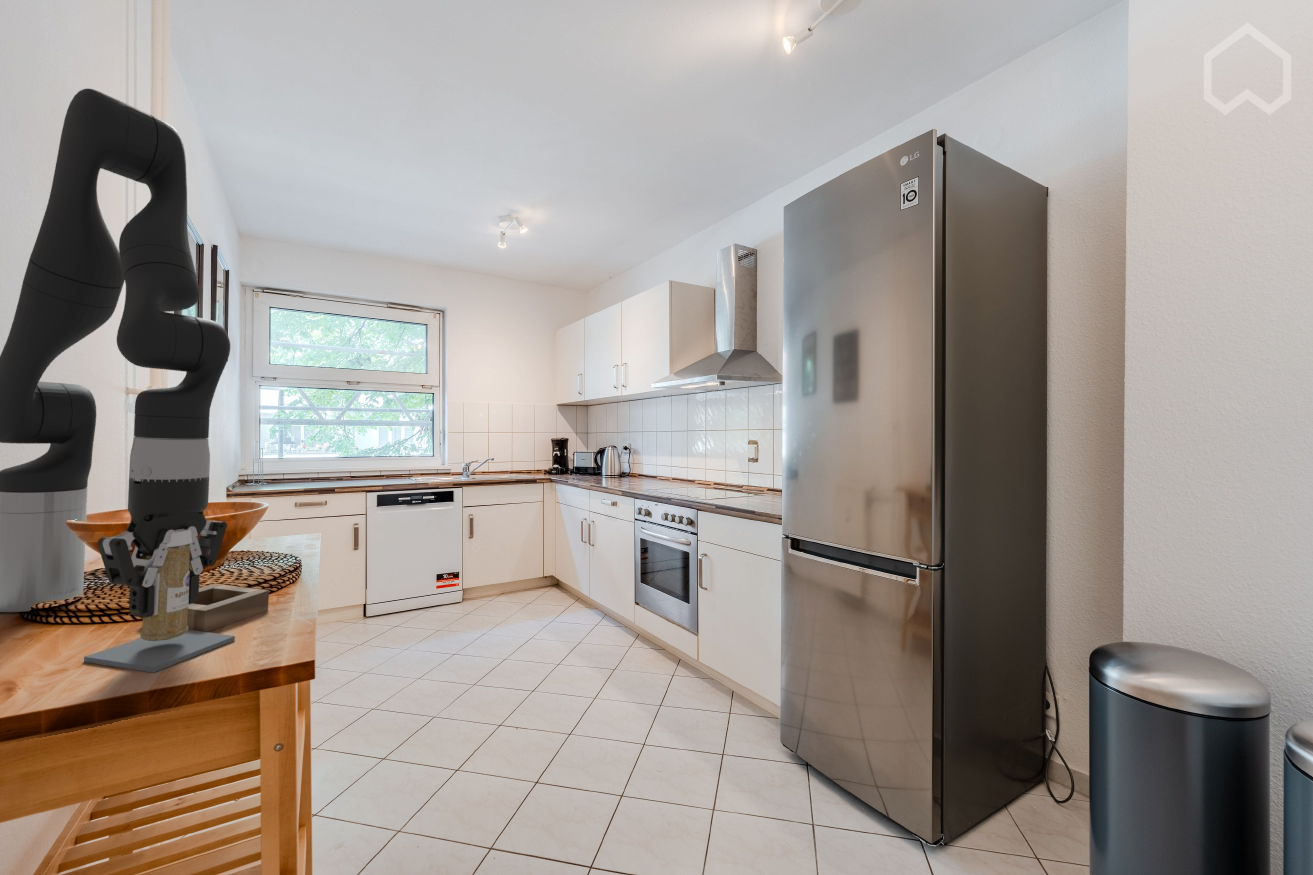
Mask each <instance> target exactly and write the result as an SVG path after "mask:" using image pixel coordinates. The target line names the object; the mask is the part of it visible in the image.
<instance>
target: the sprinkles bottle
mask: <svg viewBox="0 0 1313 875" xmlns="http://www.w3.org/2000/svg"><path fill="white" fill-rule="evenodd" d="M174 531H175V532H174V533H172V535H171V542H170V543H168V544H167V545H166V547H168V549H167V551H168V553H167V555H166V558H165V561H164V564H163V566H162V567H160V568H159V569H158V571H157V574H156V576H155V579H154V582H153V584H152V585H151V586H155V595H154V614H153V615H152V616H149V617H146V618H142V627H141V628H142V631H141V633H140V638H142V639H143V640H147V641H160V640H168V639H172V638H175V637H178V636H181V635H183V634H184V633H186V632H187V631H188V626H187V615H188V604H189V575H190V571H189V562H190V549H189V547H190V543H191V542H192V538H191V530H185V529H179V530H174ZM151 558H152V556H146V555H145V559H146V560H149V559H151Z"/></svg>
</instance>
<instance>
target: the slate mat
mask: <svg viewBox="0 0 1313 875" xmlns="http://www.w3.org/2000/svg"><path fill="white" fill-rule="evenodd" d="M235 640H236V636H235V635H229V634H224V633H223V634H222V633H215V632H210V631H207V632H202V631H195V630H188V631H187V632H186V633H184V634H183V635H181V636H178V637H175V638H172V639H168V640H160V641H147V640H143V639H142V638H141V637H140V638H137V639H134V640H129V641H127V642H125V643H122V644H117V645H115V646H111V647H109V648H107V649H103V650H101V651H100V650H99V651H97V652H94V653H90V654H88V655H84V657H83V662H84V663H89V664H90V663H91V664H97V665H102V666H103V665H104V666H109V667H116V668H123V669H128V670H134V671H140V672H148V673H154V674H155V672H158V671H162V670H164V669H166V668H169V667H172V666H173V665H176V664H179V663H182V662H184V661H186V660H189V659H192V658H194V657H196V656H199V655H201V654H204V653H207V652H209V651H212V650H214V649H218V648H219V647H222V646H224V645H227V644H229V643H231V642H234V641H235Z"/></svg>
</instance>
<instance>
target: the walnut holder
mask: <svg viewBox="0 0 1313 875" xmlns="http://www.w3.org/2000/svg"><path fill="white" fill-rule="evenodd" d="M269 593H270V590H269V589H268V590H267V589H260V588H251V587H243V586H235V585H228V584H227V585H226V584H219V583H217V584H216V583H213V584H210V585H205V586H202V587H199V594H198V596H197V598H196V601H195V602H194V603H192V604H189V605H188V615H187V626H188V630H195V631H202V632H210V631H213V630H215V629H218V628H221V627H223V626H227V625H229V624H232V623H234V622H238V621H240V620H243V619H245V618H249V617H251V616H255V615H257V614H261V613H263V612H266V611H268V610H269V598H270V594H269Z"/></svg>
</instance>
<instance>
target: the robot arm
mask: <svg viewBox="0 0 1313 875" xmlns="http://www.w3.org/2000/svg"><path fill="white" fill-rule="evenodd" d="M181 137H182V136H180V134H179V132H178V131H177V130H176V128H175V127H173V126H172V125H171V124H169V123H167V122H165V121H164V120H162V119H159V117H156V116H154V115H152V114H149V113H147V112H145V111H143V110H140V109H139V108H136V107H134V106H132V105H129V103H128V104H127V103H126V102H123V101H120V99H117V98H114V97H113V96H110V95H108V94H105V93H103V92H101V91H98V90H96V89H93V88H83V89H81V90H79V91H78V92H77V93H76V94H75V95H74V96H73V98H72V99H71V101H70V103H69V105H68V108H67V110H66V114H65V117H64V121H63V125H62V130H61V135H60V139H59V144H58V151H57V156H56V163H55V169H54V174H53V176H52V177H53V178H52V179H53V180H52V184H51V188H50V192H49V197H48V202H47V205H46V209H45V212H44V215H43V218H42V220H41V224H40V227H39V230H38V234H37V237H36V240H35V243H34V245H33V248H32V251H31V252H30V255H29V258H28V263H27V266H26V269H25V273H24V277H23V279H22V284H21V289H20V293H19V298H18V300H17V301H18V302H17V305H16V309H15V312H14V317H13V321H12V323H11V327H10V330H9V333H8V336H7V339H6V341H5V344H4V345H3V349H2V351H1V353H0V444H1V443H2V444H23V445H25V444H27V445H28V444H35V445H36V444H40V445H41V444H43V445H44V444H50V446H49V448H48V450H47V451H46V452H45V453H44V454H42V455H41V456H39V457H37V458H35V459H33V460H30V461H28V462H25V463H22V464H18V465H14V466H10V467H8V468H4V469H2V470H0V613H19V612H30V609H31V607H32V606H34V605H35V604H38V603H43V602H50V601H59V600H65V599H69V598H74V597H77V596H79V595H81V594H83V595H84V579H85V577H84V576H85V564H86V563H85V562H86V560H85V558H86V543H85V544H84V543H83V542H82V541H81V540H80V539H79V538H78V537H77V536H76V535H75V534H74V533H73V531H71V530H70V529H69V527H68V526H67V525H66V521H67V520H75V519H77V520H75V521H84V522H86V523H87V514H88V513H87V511H88V510H87V508H88V481H89V475H90V472H91V469H92V463H93V448H94V441H95V433H96V424H97V404H96V399H95V397H94V395H93V393H92V392H91V390H90V389H88V388H87V387H86V386H83V385H79V384H75V383H63V382H50V381H40V380H41V379H42V376H44V373H45V372H46V371H47V369H48V367H49V366H50V365H51V363H52V362H53V361H55V359H56V358H57V357H59V356H60V355H61V354H63V352H65V351H66V350H68V349H69V348H71V347H72V346H74V345H75V344H77V343H78V342H80V341H81V340H83V339H85V338H86V337H87V336H89V335H90V334H92V333H93V332H95V331H96V330H97V329H99V328H101V327H102V326H103V325H104V324H106V323H107V322H108V321H109V320H110V318H112V316H113V314H114V313H115V310H116V308H117V305H118V301H119V299H120V296H121V293H122V290H123V287H124V283H125V300H124V307H123V311H122V315H121V318H120V323H119V326H118V329H117V334H116V345H117V349H118V350H119V352H120V353H121V355H122V356H123V358H124V359H125V360H127V361H128V362H130V363H131V364H132V365H134V366H137V367H140V368H144V369H145V368H147V369H156V370H166V371H167V370H168V371H176V372H177V371H178V372H185V373H186V374H185V376H184V377H183V379H182V380H181V381H180V383H179V384H178V385H176V386H172V387H165V388H164V387H162V388H151V389H147V390H143V391H141V392H139V393H138V394H137V396H136V398H135V403H134V422H133V423H134V426H133V427H134V428H133V440H132V447H131V449H130V454H129V475H128V492H127V493H128V494H127V496H128V498H127V510H128V512H129V515H130V522H129V524H128V526H126V530H125V531H123V532H121V533H119V534H116V535H114V536H111V537H110V536H109V537H108V536H102V537H100V538H99V539H98V540H97V544H96V545H97V546H98V550H99V553H100V556H101V559H102V560H101V561H102V562H103V566H104V569H105V573H106V575H107V578H108V581H109V583H110V584H111V585H120V586H126V587H127V586H128V588H129V602H128V603H129V606H128V610H129V612H130V613H131V614H132V615H133V616H134V617H136V618H142V619H143V618H146V617H149V616H152V615H153V614H154V595H155V586H151V585H152V584H153V582H154V579H155V576H156V574H157V571H158V569H159V568H160V567H162V566H163V564H164V561H165V558H166V555H167V553H168V551H167V549H168V547H166V545H167V544H168V543H170V542H171V535H172V533H174V532H175V531H174V530H179V529H185V530H191V538H192V542H191V543H190V547H189V549H190V562H189V571H190V575H189V604H192V603H194V602H195V601H196V598H197V596H198V594H199V588H200V574H201V573H202V572H203V571H204V569H206V568H208V567H214V566H215V564H216V563H217V560H218V557H219V555H220V550H221V547H222V544H223V540H224V538H225V534H226V530H227V527H228V523H227V522H226V521H220V520H207V518H206V516H205V514H204V511H205V510H207V508H208V507H209V493H210V472H211V471H210V470H211V469H210V467H211V450H210V444H209V435H210V432H209V431H210V417H211V416H210V413H211V407H212V402H213V399H214V396H215V392H216V390H217V388H218V387H217V386H218V384H219V381H220V379H221V377H222V375H223V373H224V370H225V367H226V365H227V362H228V360H229V356H230V352H231V340H230V337H229V335H228V333H227V331H226V329H224V327H223V326H222V325H221V324H220V323H218V322H217V321H215V320H211V319H208V318H204V317H198V316H197V317H196V316H190V315H185V314H179V313H173V312H179V311H183V310H187V309H190V308H192V307H194V306H195V305H196V304H197V303H198V302H199V300H200V295H201V294H200V293H201V292H200V287H199V282H198V277H197V273H196V269H195V265H194V261H193V257H192V252H191V248H190V241H189V232H188V185H187V183H188V182H187V180H188V179H187V159H186V152H185V147H184V143H183V140H182V138H181ZM101 169H102V170H104V171H106V172H107V171H108V172H110V173H113V174H116V175H117V176H120V177H124V178H127V179H129V180H132V181H135V182H137V183H140V184H144V185H146V186H147V188H148V189H149V191H150V192H149V193H150V200H149V201H148V202H147V204H146V205H145V206H144V207H143V208H142V209H141V210H140V211H139V212H138V213H136V214H135V215H134V216H133V217H132V218H131V219H130V220H129V221H128V222H126V224H125V225H124V227H123V229H122V231H121V233H120V236H119V242H118V243H119V244H118V247H117V244H116V242H115V241H114V239H113V236H112V235H111V232H110V230H109V229H108V227H107V224H106V222H105V219H104V216H103V214H102V212H101V209H100V206H99V201H98V190H97V188H98V179H99V174H100V170H101ZM132 543H133V544H134V546H135V547H133V546H132ZM133 548H134V550H133ZM132 550H133V552H132V555H131V552H130V551H132ZM145 555H146V556H152V558H151V559H149V560H146V559H145ZM189 604H188V605H189Z"/></svg>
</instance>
